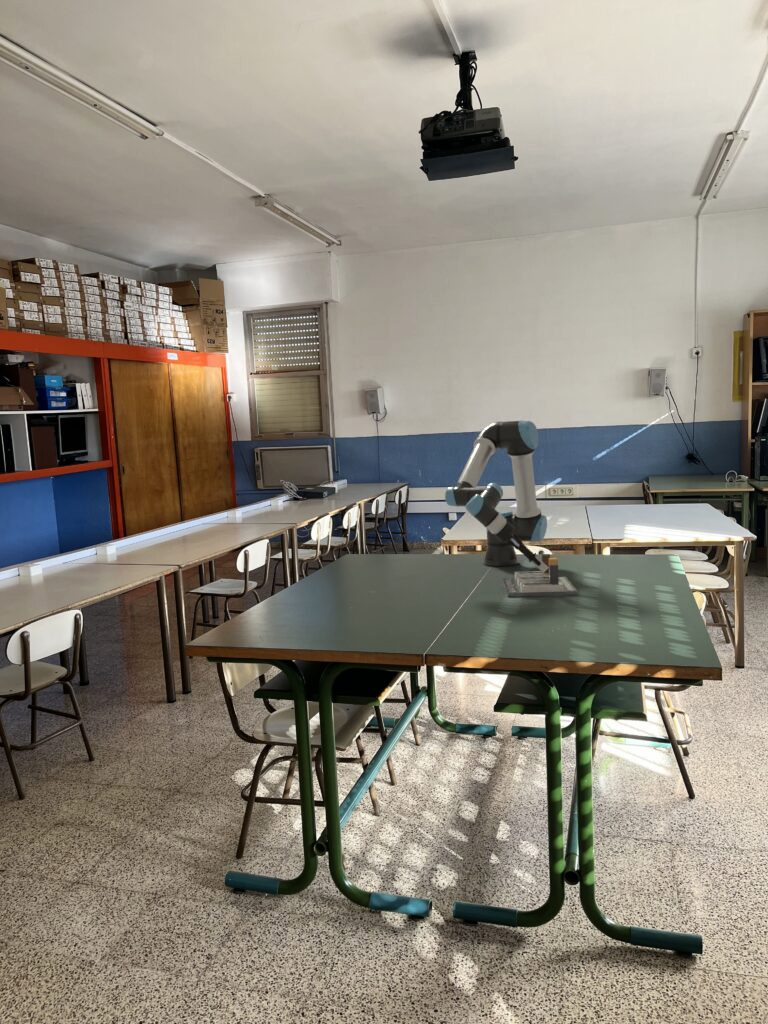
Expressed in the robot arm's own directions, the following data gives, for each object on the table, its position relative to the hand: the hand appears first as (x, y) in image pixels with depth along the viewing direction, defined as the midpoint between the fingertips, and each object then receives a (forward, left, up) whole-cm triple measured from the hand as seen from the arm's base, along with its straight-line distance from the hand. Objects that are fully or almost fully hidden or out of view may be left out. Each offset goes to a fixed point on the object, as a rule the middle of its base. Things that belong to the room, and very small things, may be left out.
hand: (545, 570), depth 284 cm
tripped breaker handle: (0, +3, -3) cm, 4 cm away
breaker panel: (0, -3, -7) cm, 8 cm away
